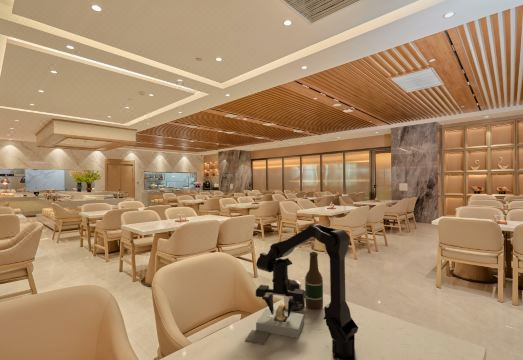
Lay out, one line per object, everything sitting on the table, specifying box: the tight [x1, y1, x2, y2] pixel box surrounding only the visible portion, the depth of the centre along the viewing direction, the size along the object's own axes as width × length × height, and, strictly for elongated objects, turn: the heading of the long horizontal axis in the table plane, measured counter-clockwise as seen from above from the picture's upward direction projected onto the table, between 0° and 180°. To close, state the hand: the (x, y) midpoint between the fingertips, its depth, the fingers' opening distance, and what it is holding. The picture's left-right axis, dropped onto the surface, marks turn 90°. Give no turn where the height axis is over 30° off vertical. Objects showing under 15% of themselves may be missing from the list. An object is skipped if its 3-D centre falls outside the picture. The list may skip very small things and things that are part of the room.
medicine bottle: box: [283, 279, 306, 313], centre depth 122 cm, size 7×7×12 cm
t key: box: [275, 303, 286, 322], centre depth 108 cm, size 3×7×7 cm, turn 162°
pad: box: [244, 329, 271, 345], centre depth 100 cm, size 7×7×1 cm
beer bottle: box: [304, 251, 324, 311], centre depth 124 cm, size 8×8×24 cm
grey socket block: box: [255, 308, 305, 339], centre depth 108 cm, size 16×12×3 cm
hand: (280, 315), depth 108 cm, fingers open, 6 cm apart
